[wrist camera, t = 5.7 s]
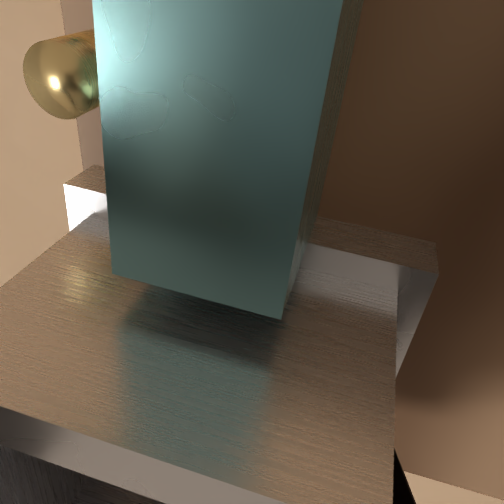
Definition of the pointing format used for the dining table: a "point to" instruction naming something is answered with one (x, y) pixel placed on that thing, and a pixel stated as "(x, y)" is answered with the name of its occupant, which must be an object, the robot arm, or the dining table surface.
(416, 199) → the post board
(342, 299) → the grey piece
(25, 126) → the dining table surface
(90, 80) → the dowel pin
